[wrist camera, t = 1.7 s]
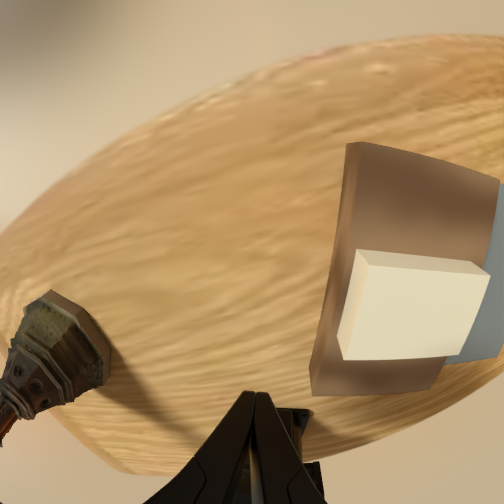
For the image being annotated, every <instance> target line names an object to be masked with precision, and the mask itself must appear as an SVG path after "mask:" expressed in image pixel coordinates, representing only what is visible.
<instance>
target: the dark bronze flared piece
mask: <svg viewBox="0 0 504 504" xmlns="http://www.w3.org/2000/svg"><path fill="white" fill-rule="evenodd" d="M23 311H24V317H23V319H22V321H21V325H20V326H19V328H18V331H17V332H16V334H15V338H12V339H10V341H11V346H12V348H8V353H9V355H8V359H7V362H6V367H5V370H4V373H3V376H2V378H1V379H0V447H2V439H3V437H4V436H5V435H6V433H8V432H9V430H10V429H11V427H12V425H13V423H15V422H16V420H17V419H19V420H21V419H22V418H24V419H26V420H30V419H32V420H33V419H34V418H35V416H36V414H37V413H39V412H42V411H44V410H47V409H49V408H51V407H54V406H56V405H58V406H59V405H65V404H66V403H68V402H74V400H75V398H77V397H79V396H80V395H82V393H84V392H87V391H88V390H91V389H92V388H94V389H96V388H98V386H103V385H104V384H105V382H106V381H107V379H108V377H109V372H110V353H111V347H110V346H109V345H108V343H107V342H106V340H105V339H104V338H103V336H102V335H101V333H100V332H99V331H98V329H97V328H96V326H95V325H94V323H93V322H92V320H91V319H90V317H89V316H88V314H87V313H86V311H85V310H84V308H82V307H80V306H79V305H77V304H75V303H73V302H71V301H70V300H68V299H66V298H64V297H63V296H61V295H59V294H57V293H56V292H54V291H52V290H51V289H50V290H49V291H47V292H46V293H44V294H42V295H41V296H39V297H38V298H36V299H35V300H33V301H31V302H30V303H29V304H27V305H26V306H25V307H24V308H23ZM21 417H22V418H21Z"/></svg>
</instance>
